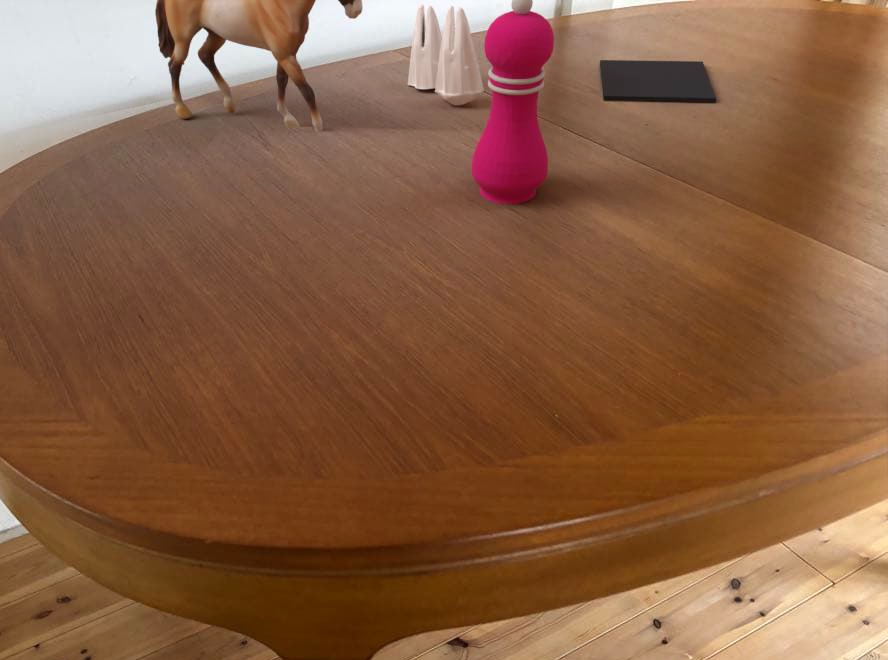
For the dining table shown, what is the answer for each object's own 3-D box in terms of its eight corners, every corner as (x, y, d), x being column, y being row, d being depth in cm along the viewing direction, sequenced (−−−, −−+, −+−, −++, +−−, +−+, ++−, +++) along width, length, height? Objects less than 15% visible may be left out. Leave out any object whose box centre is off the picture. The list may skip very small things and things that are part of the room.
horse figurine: (377, 136, 103) (372, -60, 90) (339, 161, 98) (328, -42, 85) (177, 92, 117) (148, -83, 104) (136, 112, 112) (100, -69, 99)
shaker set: (485, 106, 108) (490, 11, 101) (456, 114, 107) (459, 17, 100) (432, 78, 116) (434, -12, 109) (405, 85, 115) (405, -6, 108)
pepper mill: (454, 208, 88) (461, -6, 75) (503, 185, 91) (519, -24, 79) (508, 233, 84) (526, 10, 71) (558, 208, 87) (584, -9, 74)
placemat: (701, 65, 116) (702, 61, 115) (715, 103, 106) (716, 98, 105) (599, 64, 118) (600, 59, 117) (603, 100, 108) (604, 95, 108)
